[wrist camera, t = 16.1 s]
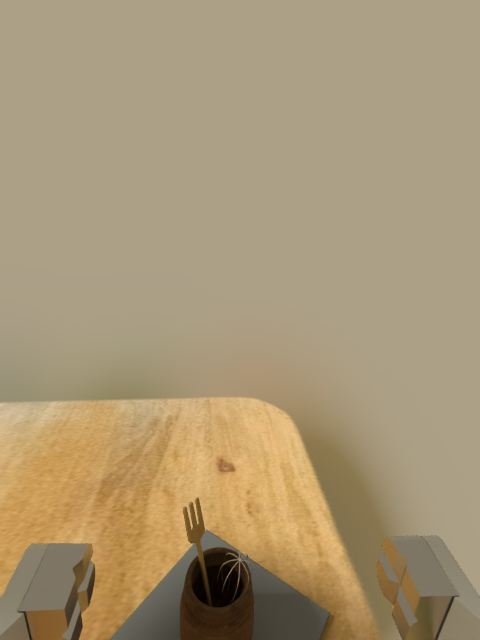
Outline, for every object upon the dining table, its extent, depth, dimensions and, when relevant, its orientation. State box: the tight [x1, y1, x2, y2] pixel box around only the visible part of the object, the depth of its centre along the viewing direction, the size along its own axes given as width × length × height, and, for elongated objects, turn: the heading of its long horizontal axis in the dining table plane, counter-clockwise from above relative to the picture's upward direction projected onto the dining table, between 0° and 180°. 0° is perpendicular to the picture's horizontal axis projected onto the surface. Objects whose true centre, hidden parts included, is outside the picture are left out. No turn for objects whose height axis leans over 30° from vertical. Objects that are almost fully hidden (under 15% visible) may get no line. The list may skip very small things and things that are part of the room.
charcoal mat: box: [110, 530, 329, 640], centre depth 30 cm, size 14×14×1 cm
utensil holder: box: [180, 498, 255, 640], centre depth 27 cm, size 6×6×12 cm
